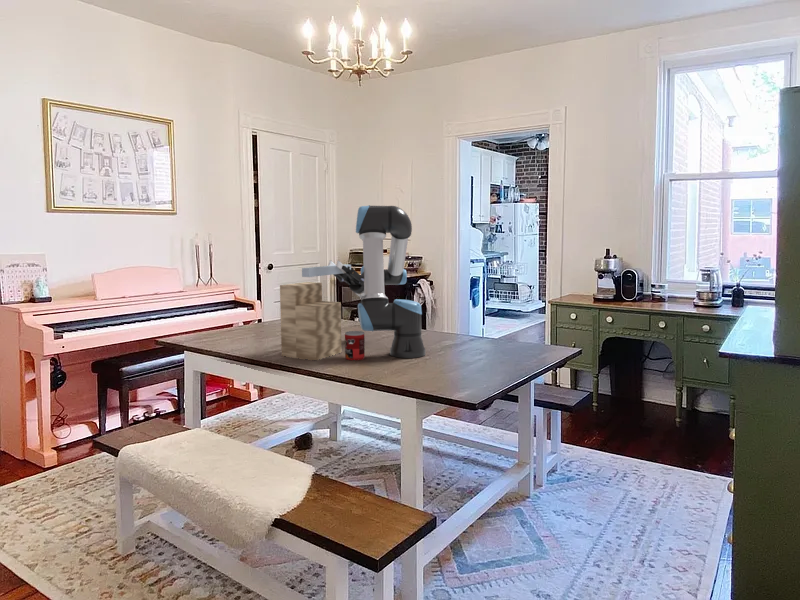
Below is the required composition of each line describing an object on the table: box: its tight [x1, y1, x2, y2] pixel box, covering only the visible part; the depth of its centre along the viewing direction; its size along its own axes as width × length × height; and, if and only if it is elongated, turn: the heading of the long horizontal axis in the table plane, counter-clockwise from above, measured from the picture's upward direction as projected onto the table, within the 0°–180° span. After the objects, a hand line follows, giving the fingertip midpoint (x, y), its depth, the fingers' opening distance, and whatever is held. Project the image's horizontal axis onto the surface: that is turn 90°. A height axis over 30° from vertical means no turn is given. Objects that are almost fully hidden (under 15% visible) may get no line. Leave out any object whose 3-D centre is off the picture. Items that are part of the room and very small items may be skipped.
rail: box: [301, 263, 352, 278], centre depth 254 cm, size 30×4×4 cm, turn 150°
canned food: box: [344, 330, 366, 361], centre depth 246 cm, size 8×8×11 cm
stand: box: [279, 281, 343, 361], centre depth 253 cm, size 18×18×30 cm
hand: (333, 263), depth 257 cm, fingers closed on rail, 3 cm apart
